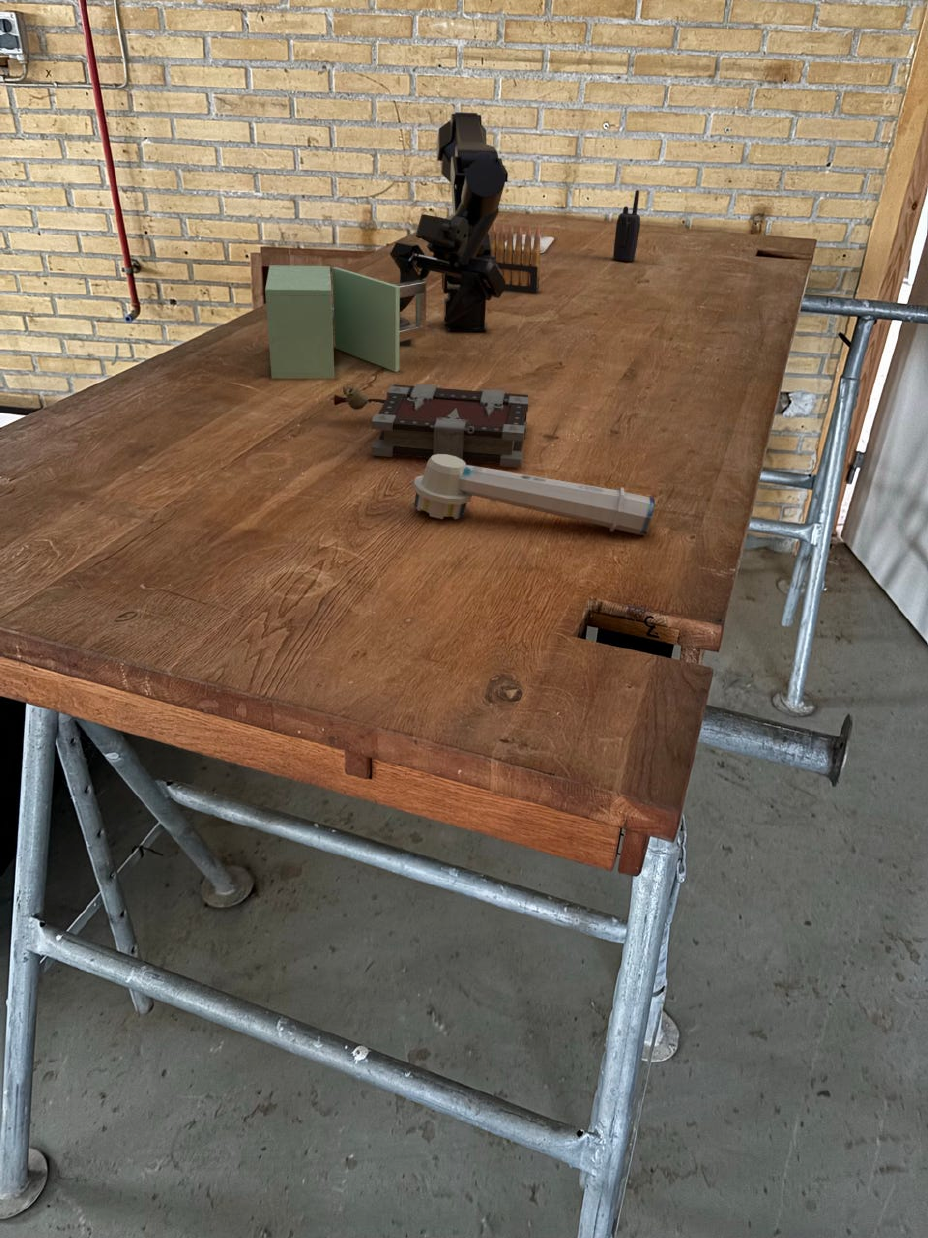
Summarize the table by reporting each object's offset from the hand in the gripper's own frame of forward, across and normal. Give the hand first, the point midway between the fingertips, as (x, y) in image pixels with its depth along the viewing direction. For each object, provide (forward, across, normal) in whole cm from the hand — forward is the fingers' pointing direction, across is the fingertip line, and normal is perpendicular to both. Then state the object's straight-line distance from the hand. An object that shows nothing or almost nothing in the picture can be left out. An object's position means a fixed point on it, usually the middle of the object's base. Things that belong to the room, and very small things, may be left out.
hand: (421, 316), depth 138 cm
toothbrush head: (+29, +43, -19) cm, 55 cm away
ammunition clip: (-29, -16, +39) cm, 51 cm away
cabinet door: (+6, -6, +3) cm, 9 cm away
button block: (+2, -12, +8) cm, 15 cm away
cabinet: (+14, -12, -4) cm, 19 cm away
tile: (-53, -30, +63) cm, 87 cm away
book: (+22, +20, -12) cm, 32 cm away
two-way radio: (-58, -14, +69) cm, 91 cm away
